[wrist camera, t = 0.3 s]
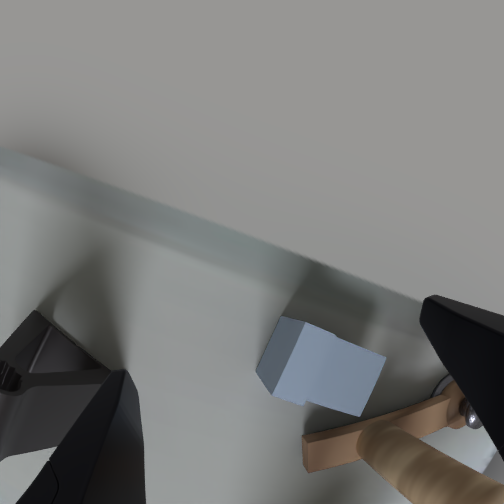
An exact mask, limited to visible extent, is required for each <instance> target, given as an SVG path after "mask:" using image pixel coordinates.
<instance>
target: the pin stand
mask: <svg viewBox="0 0 504 504" xmlns="http://www.w3.org/2000/svg"><path fill="white" fill-rule="evenodd" d="M453 380H454V379H453V378H452V376H451V375H450V374H449V375H447V376H446V377H444V378H443V379H442V380H441V381H440V382H439V383H438V385H437V386H436V388H435V389H434V391H433V393H432V396H431V398H433V397H436V396H438V395H441V393H442V392H443V390H444V389H445V387H446V386H447V385H448V384H449V383H450V382H451V381H453ZM431 398H430V399H431ZM459 413H460V415H461V416H464V417H465V423H466V425H467V426H468V427H470V428H473V429H478V428H480V427H481V426H483V424H482V423H481V421H480V419H479V418H478V416H477V415H476V413H475V411H474V410H473V408H472V407H471V405H470V404H469V402H468V400H467V399H466V397H465V398H464V399H463V400H462V402H461V404H460V407H459ZM446 427H447V426H446Z"/></svg>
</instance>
